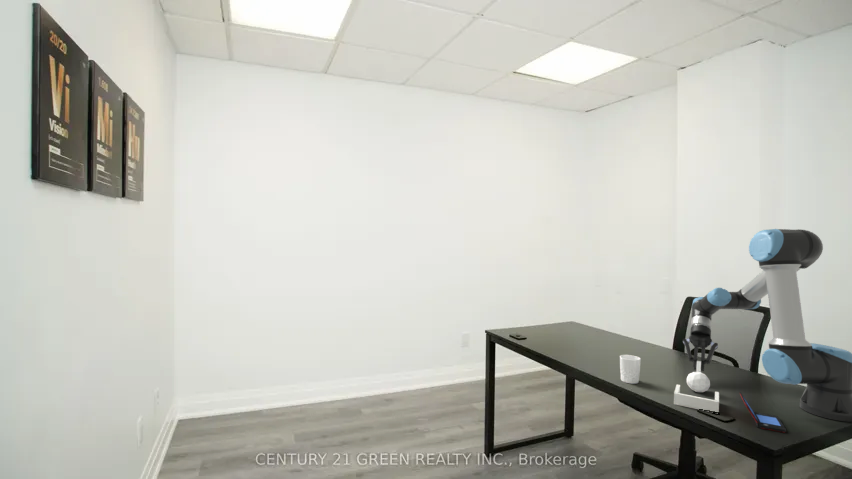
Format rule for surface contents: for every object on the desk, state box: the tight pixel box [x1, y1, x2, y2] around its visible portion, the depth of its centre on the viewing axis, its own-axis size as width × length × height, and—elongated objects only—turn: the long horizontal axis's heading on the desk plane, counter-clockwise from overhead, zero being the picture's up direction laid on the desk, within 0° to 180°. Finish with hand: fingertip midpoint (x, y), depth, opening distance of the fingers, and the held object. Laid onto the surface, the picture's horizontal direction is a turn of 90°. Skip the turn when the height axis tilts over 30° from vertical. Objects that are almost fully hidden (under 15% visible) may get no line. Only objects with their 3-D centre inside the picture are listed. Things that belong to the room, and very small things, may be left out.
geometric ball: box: [686, 371, 711, 393], centre depth 165 cm, size 8×8×8 cm
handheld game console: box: [739, 392, 787, 433], centre depth 139 cm, size 12×11×7 cm
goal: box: [673, 384, 720, 412], centre depth 153 cm, size 11×13×4 cm
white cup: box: [619, 354, 642, 385], centre depth 176 cm, size 8×8×10 cm
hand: (698, 376), depth 172 cm, fingers closed
